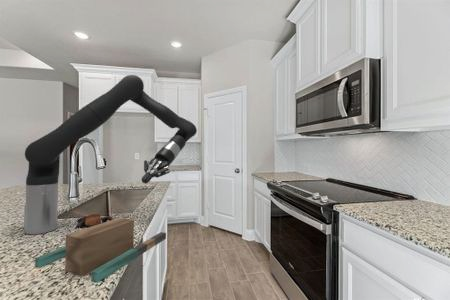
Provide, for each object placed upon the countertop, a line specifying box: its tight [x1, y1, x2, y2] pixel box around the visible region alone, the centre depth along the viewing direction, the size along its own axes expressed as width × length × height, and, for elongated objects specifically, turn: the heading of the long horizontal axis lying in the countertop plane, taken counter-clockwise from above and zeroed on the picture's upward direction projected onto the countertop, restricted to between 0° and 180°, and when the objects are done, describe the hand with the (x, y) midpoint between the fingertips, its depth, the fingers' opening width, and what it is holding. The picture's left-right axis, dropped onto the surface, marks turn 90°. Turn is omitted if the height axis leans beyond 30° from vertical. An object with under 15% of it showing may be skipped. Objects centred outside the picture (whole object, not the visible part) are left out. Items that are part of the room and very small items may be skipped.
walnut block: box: [64, 217, 135, 277], centre depth 61 cm, size 6×16×9 cm, turn 157°
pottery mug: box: [74, 213, 114, 230], centre depth 80 cm, size 12×10×8 cm
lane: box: [34, 231, 167, 283], centre depth 66 cm, size 21×27×2 cm
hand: (143, 181), depth 88 cm, fingers closed
